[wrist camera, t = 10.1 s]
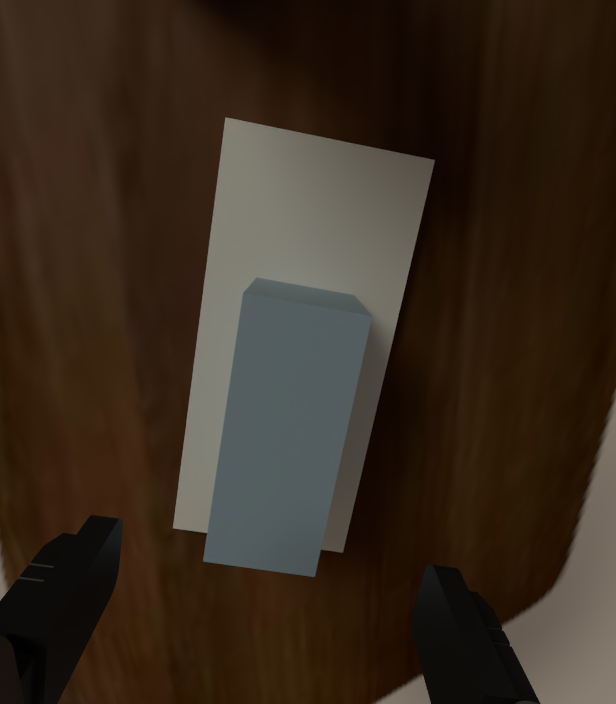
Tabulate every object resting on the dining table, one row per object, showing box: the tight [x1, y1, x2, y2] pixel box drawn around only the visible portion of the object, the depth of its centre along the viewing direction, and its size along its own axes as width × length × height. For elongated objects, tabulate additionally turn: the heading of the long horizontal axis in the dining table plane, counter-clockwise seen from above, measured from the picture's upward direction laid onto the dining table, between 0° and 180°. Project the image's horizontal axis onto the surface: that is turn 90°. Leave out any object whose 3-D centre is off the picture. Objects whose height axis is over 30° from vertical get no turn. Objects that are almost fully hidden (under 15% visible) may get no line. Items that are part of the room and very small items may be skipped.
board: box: [173, 118, 435, 553], centre depth 24 cm, size 22×10×3 cm, turn 170°
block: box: [203, 277, 372, 577], centre depth 22 cm, size 12×5×6 cm, turn 170°
